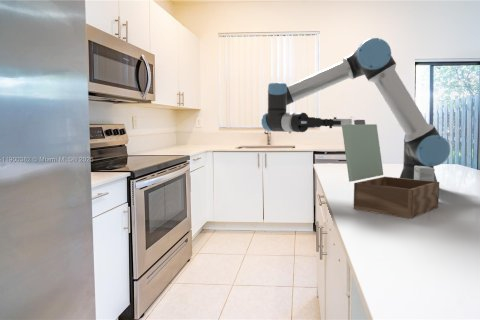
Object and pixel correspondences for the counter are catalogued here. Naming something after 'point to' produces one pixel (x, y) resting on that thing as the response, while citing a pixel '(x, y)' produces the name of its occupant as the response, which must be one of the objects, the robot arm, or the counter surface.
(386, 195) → the wooden box
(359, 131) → the lid
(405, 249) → the counter surface
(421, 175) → the ink box
